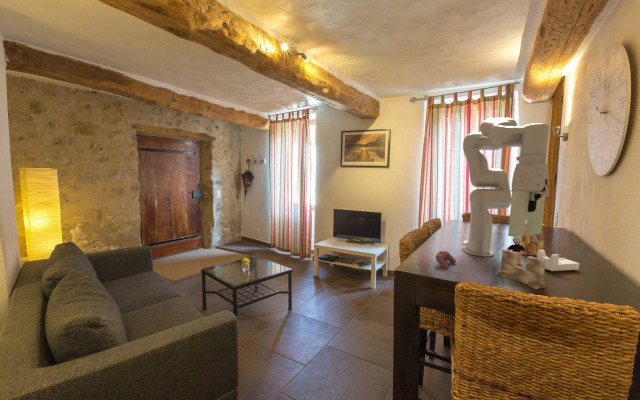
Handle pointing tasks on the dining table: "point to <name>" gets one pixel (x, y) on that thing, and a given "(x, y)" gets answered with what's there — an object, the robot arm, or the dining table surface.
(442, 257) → the video game controller
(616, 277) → the dining table surface
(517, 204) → the sage plate
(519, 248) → the grandmother figurine
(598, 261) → the dining table surface
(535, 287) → the birch stand
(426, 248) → the dining table surface
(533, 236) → the candy box
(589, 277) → the dining table surface
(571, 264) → the bracket
